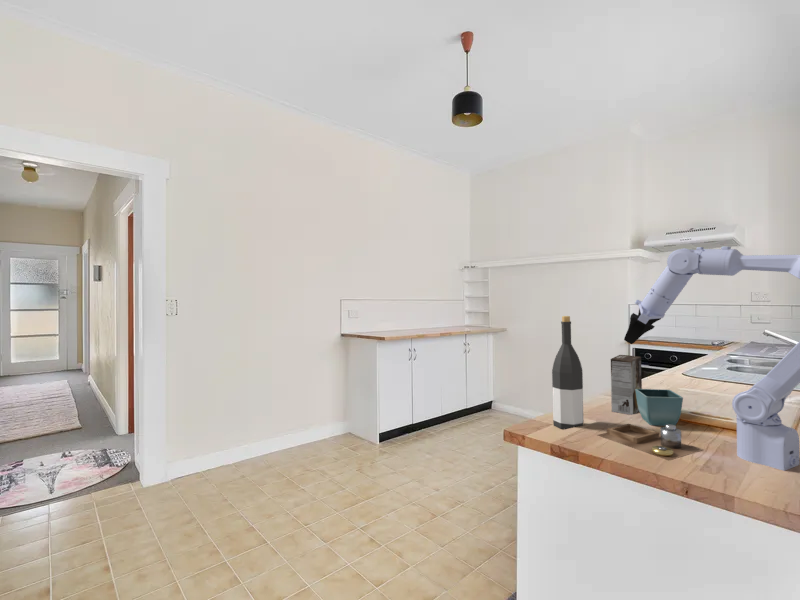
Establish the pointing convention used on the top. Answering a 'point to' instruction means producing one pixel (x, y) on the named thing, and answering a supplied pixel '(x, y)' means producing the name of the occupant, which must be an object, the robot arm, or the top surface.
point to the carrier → (644, 440)
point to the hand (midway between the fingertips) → (631, 337)
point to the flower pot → (659, 406)
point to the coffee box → (625, 383)
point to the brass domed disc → (662, 451)
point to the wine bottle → (567, 383)
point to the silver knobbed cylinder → (671, 437)
